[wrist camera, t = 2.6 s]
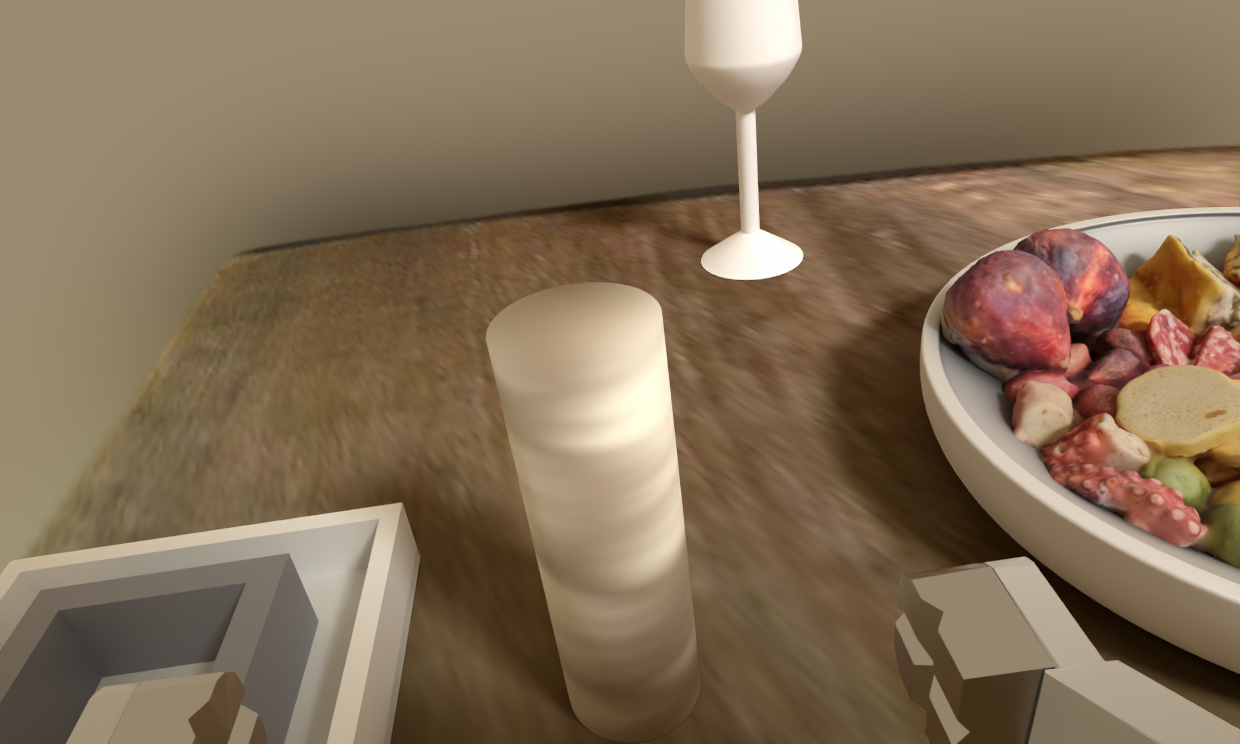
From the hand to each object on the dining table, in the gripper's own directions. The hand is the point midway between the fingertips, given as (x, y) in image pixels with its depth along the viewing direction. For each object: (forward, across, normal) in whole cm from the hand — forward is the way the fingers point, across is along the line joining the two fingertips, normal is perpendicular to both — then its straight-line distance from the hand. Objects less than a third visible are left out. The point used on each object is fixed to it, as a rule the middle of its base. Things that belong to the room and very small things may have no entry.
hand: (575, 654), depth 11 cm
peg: (+12, 0, +16) cm, 20 cm away
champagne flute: (+44, -11, +16) cm, 48 cm away
